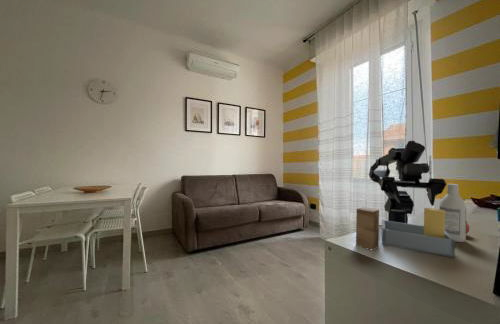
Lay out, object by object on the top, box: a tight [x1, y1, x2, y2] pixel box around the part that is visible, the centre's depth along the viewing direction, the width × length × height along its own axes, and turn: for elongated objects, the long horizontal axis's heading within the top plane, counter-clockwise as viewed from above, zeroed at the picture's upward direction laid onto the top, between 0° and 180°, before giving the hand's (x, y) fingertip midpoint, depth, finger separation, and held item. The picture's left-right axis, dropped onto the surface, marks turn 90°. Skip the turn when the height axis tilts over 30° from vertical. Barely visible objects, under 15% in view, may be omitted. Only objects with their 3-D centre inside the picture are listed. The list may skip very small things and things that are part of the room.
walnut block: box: [355, 206, 380, 251], centre depth 68 cm, size 5×5×12 cm
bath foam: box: [439, 183, 467, 243], centre depth 75 cm, size 7×7×20 cm
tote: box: [381, 219, 456, 259], centre depth 70 cm, size 18×14×5 cm
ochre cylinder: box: [423, 207, 445, 238], centre depth 66 cm, size 5×5×12 cm
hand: (416, 203), depth 71 cm, fingers open, 9 cm apart
